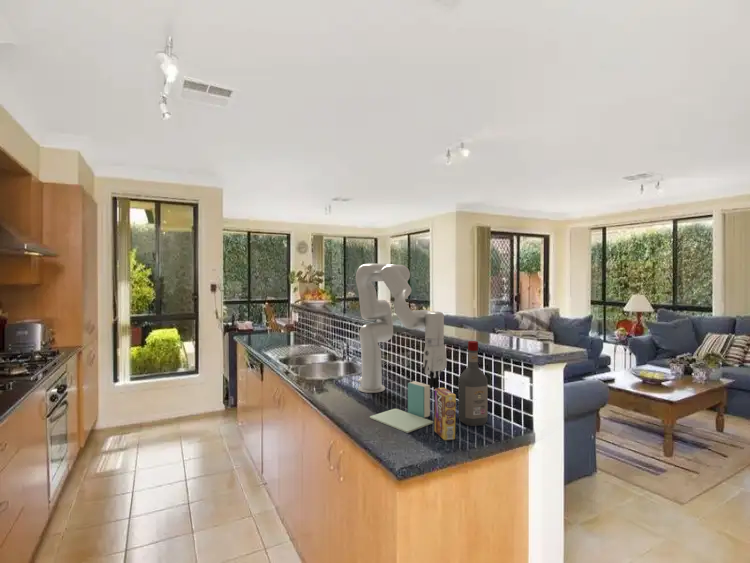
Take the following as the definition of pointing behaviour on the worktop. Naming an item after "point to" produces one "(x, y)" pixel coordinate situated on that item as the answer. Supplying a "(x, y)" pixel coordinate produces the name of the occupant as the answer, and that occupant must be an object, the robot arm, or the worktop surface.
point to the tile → (419, 399)
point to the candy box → (445, 413)
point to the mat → (401, 420)
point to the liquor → (473, 391)
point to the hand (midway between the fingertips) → (434, 386)
